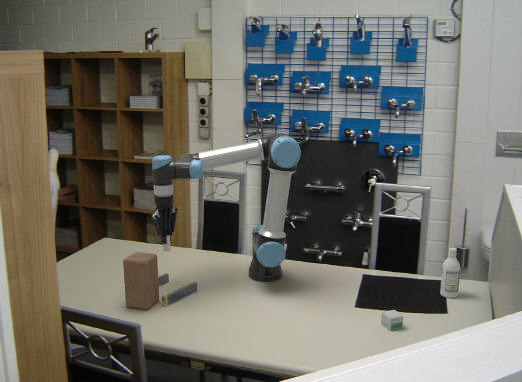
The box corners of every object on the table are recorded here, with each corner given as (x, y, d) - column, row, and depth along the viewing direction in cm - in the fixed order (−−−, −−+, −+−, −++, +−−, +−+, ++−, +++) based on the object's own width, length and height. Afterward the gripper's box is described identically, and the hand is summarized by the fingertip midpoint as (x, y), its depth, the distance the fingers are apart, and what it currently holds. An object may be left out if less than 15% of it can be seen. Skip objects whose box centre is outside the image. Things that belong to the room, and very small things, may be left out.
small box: (390, 331, 193) (390, 318, 192) (380, 324, 199) (381, 311, 197) (403, 328, 196) (404, 315, 194) (393, 321, 201) (394, 309, 200)
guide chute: (197, 290, 228) (197, 281, 227) (165, 306, 213) (165, 297, 212) (166, 280, 238) (165, 272, 237) (133, 295, 223) (132, 286, 222)
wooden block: (147, 311, 209) (144, 261, 205) (124, 307, 212) (121, 258, 208) (160, 300, 218) (158, 253, 214) (138, 297, 221) (135, 250, 217)
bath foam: (461, 297, 221) (465, 250, 217) (447, 299, 219) (451, 252, 214) (450, 290, 228) (454, 245, 223) (436, 292, 225) (440, 247, 221)
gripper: (168, 190, 224) (171, 244, 230) (145, 196, 214) (148, 253, 219) (181, 192, 220) (184, 247, 226) (158, 199, 210) (162, 257, 215)
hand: (167, 250), depth 222 cm, fingers closed
